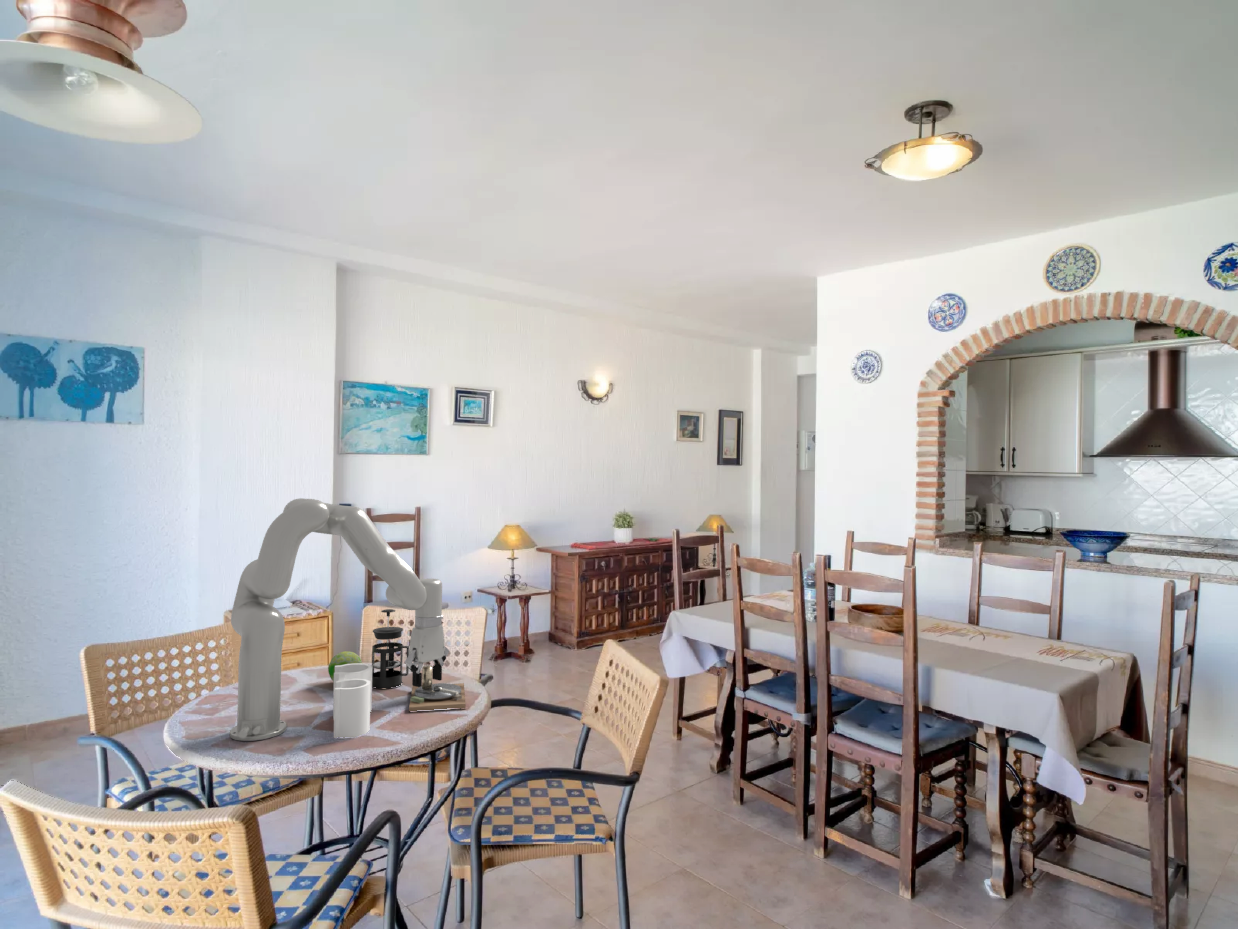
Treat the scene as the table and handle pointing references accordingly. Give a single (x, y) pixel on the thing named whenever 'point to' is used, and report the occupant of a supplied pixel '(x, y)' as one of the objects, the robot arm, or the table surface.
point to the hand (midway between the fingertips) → (427, 682)
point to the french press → (388, 657)
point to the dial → (435, 687)
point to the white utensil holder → (352, 699)
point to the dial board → (437, 701)
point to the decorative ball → (342, 661)
